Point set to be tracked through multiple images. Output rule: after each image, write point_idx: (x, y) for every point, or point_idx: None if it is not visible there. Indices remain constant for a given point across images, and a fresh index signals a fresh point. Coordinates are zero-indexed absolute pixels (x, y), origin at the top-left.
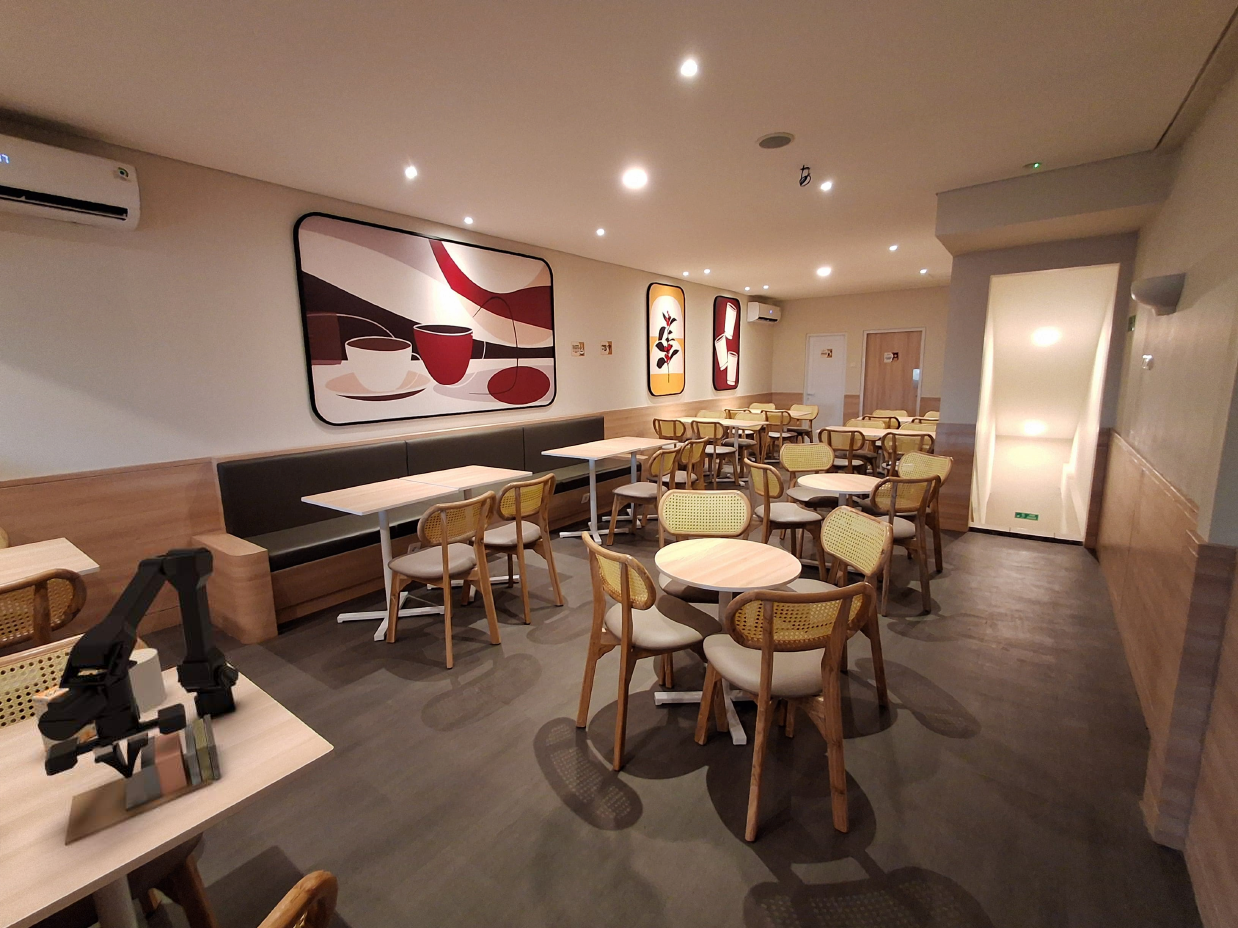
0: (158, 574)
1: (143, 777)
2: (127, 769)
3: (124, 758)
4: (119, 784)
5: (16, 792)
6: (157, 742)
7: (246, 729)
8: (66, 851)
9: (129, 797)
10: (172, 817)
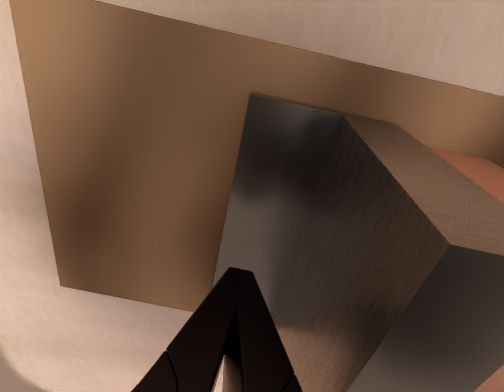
0: None
1: None
2: (223, 380)
3: (217, 370)
4: (213, 95)
5: None
6: (490, 387)
7: None
8: (74, 300)
9: (227, 262)
10: None
